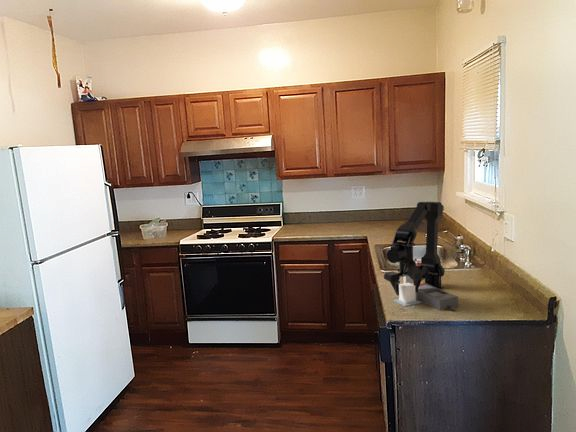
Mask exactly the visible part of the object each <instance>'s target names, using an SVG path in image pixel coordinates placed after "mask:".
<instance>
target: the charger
mask: <svg viewBox="0 0 576 432" xmlns="http://www.w3.org/2000/svg"><path fill="white" fill-rule="evenodd" d="M398 299H399V300H400V301H402V302H403V303H405V304H407V303H412V302H416V300H417V299H416V298H415V285H413V284H410V283H404V282H403V283H399V297H398Z"/></svg>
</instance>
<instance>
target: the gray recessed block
mask: <svg viewBox="0 0 576 432" xmlns="http://www.w3.org/2000/svg"><path fill="white" fill-rule="evenodd" d="M412 284H413V285H414V283H412ZM415 298H416V300H418V301H420V302H421V303H423V304H425V305H428V306H430V307H432V308H433V309H435V310H438V311H444V310H448V309H450V310H452V311H453V312H455V311H456V310H457V307H458V306H459V296H458V295H455V294H453V293H451V292H448V291H446V290H443V289H442V288H440V289H439V288H436V287H434V286H431V285H429V284H426V283H425V281H424V282H422V281H421V283H420V285H419V288H418V291H417V292H415Z"/></svg>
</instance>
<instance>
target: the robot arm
mask: <svg viewBox="0 0 576 432" xmlns="http://www.w3.org/2000/svg"><path fill="white" fill-rule="evenodd" d="M444 211H445V210H444V205H443V204H442V202H440V201H419V202H417V204H416V207H415V209H414V210H413V211H412V213H411V215H410V216H409V218H408V220H407V221H406V222H404V223H403V224H401V225H399V227H398V228H397V229H396V230H395V234H394V235H393V240H392V242H391V246H390V249H389V250H387V253H386V259H387V261H388V262H389V263H392V264H396V263H398V265H399V268H397V272H395V271H392V270H391V271H387V272H384V275H383V279H384V280H386V281H387V282H389V284H390V285H391V287H392V288H393V291H394V293H395V294H396V296H397V297H398V296H399V284H401V281H400V279H401V278H403V277H405V276H409V277H410V278H411V279H413V283H414V285H415V292H417V291H418V288H419V285H420V283H421V282H422V281H423V280H424V283H426V284H429V285H431V286H434V287H436V288H439V289H444V286H443V285H442V277H444V275H445V272H446V271H445V268H444V267H443V265H442V262H441V261H442V260H441V258H440V255H439V254H438V243H439V242H438V238H439V221H440V220H441V218H442V217H443V212H444ZM424 217H425V218H424ZM423 219H425V221H426V223H427V233H426V235H425V236H426V240H425V242H426V243H425V254H424V255H423V256H422V257H420V260H421V261H420V263H421V266H416V262H415V259H414V246H416V243H415V240H416V238H417V236H418V232H417V228H418V226H419V224H420V223H421V221H422V222H423Z"/></svg>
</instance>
